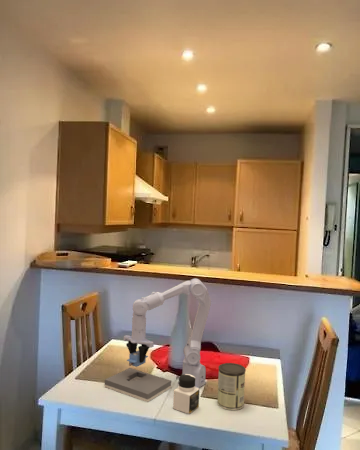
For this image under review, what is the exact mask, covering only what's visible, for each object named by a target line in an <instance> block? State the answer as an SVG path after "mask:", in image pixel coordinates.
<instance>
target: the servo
mask: <svg viewBox="0 0 360 450" xmlns="http://www.w3.org/2000/svg"><path fill="white" fill-rule="evenodd" d="M128 356H129V358H128V359H126V362H128V365H129V367H130V366H132V367H136V368H137V367H139V366H141V365H145V364H146V361H147V358H148V357H149V356H148V355H146V356H145V359H144V362H142V363H140V354H139V349H138V350H136V352H133V353H131V354H130V353H129V355H128Z"/></svg>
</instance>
